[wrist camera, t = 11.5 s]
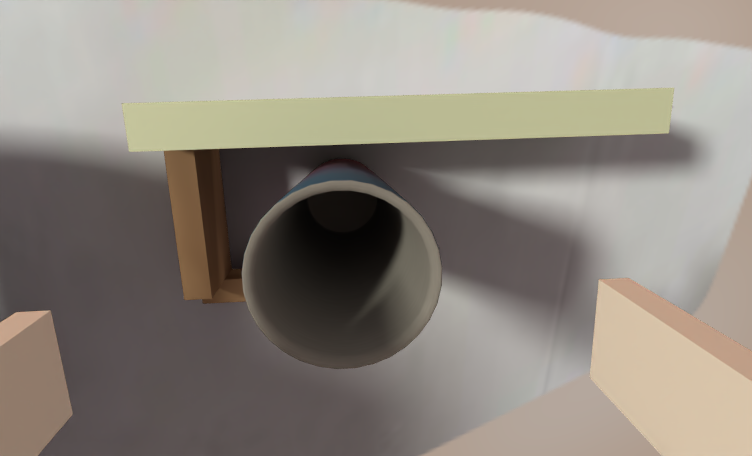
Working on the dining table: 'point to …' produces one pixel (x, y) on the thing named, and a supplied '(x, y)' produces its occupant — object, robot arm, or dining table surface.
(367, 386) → the dining table surface
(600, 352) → the robot arm
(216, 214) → the bracket
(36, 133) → the dining table surface
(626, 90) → the wall board
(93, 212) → the dining table surface
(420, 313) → the cup
